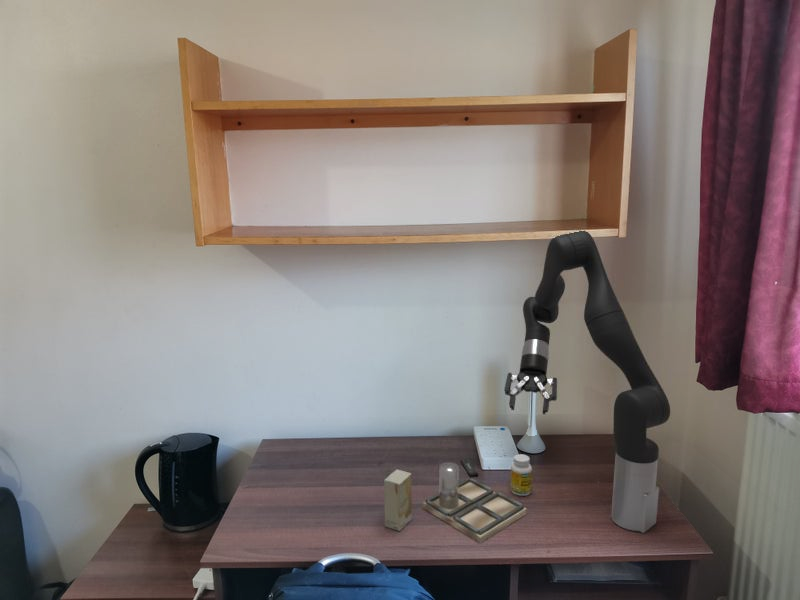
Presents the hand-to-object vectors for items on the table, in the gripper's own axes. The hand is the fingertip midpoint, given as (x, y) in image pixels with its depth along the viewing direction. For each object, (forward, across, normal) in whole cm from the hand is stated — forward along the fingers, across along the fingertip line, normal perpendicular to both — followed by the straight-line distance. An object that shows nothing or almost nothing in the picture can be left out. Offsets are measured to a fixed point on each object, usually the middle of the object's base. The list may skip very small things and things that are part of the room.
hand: (528, 411), depth 162 cm
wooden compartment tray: (+30, -10, -5) cm, 32 cm away
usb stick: (+16, -15, +10) cm, 24 cm away
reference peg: (+30, -16, -7) cm, 34 cm away
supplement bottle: (+21, 0, +4) cm, 21 cm away
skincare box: (+37, -26, -12) cm, 47 cm away
